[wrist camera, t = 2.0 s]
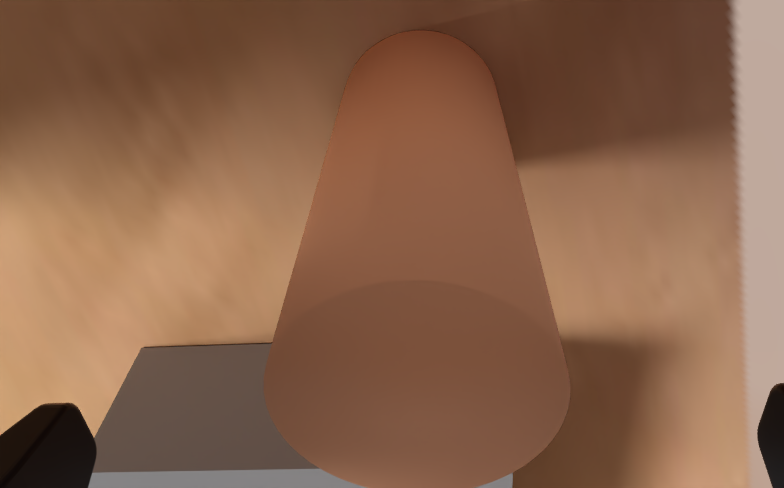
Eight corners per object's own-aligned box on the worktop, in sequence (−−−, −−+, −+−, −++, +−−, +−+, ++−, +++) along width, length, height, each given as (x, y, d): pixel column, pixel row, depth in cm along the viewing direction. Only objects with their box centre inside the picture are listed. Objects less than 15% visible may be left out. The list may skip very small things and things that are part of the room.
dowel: (352, 180, 18) (291, 496, 10) (333, 36, 16) (232, 286, 7) (497, 172, 18) (560, 492, 9) (498, 24, 15) (583, 272, 7)
